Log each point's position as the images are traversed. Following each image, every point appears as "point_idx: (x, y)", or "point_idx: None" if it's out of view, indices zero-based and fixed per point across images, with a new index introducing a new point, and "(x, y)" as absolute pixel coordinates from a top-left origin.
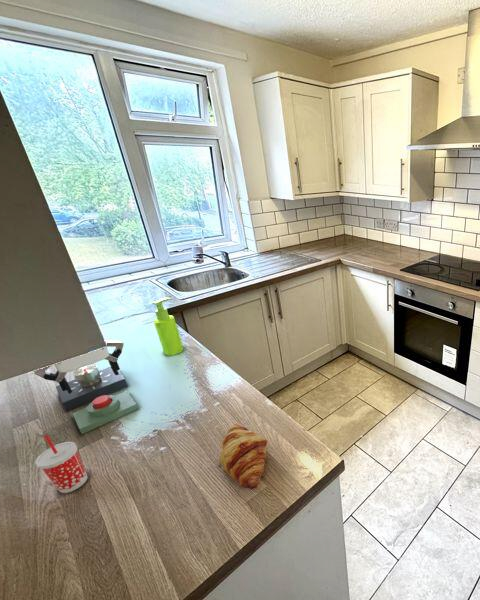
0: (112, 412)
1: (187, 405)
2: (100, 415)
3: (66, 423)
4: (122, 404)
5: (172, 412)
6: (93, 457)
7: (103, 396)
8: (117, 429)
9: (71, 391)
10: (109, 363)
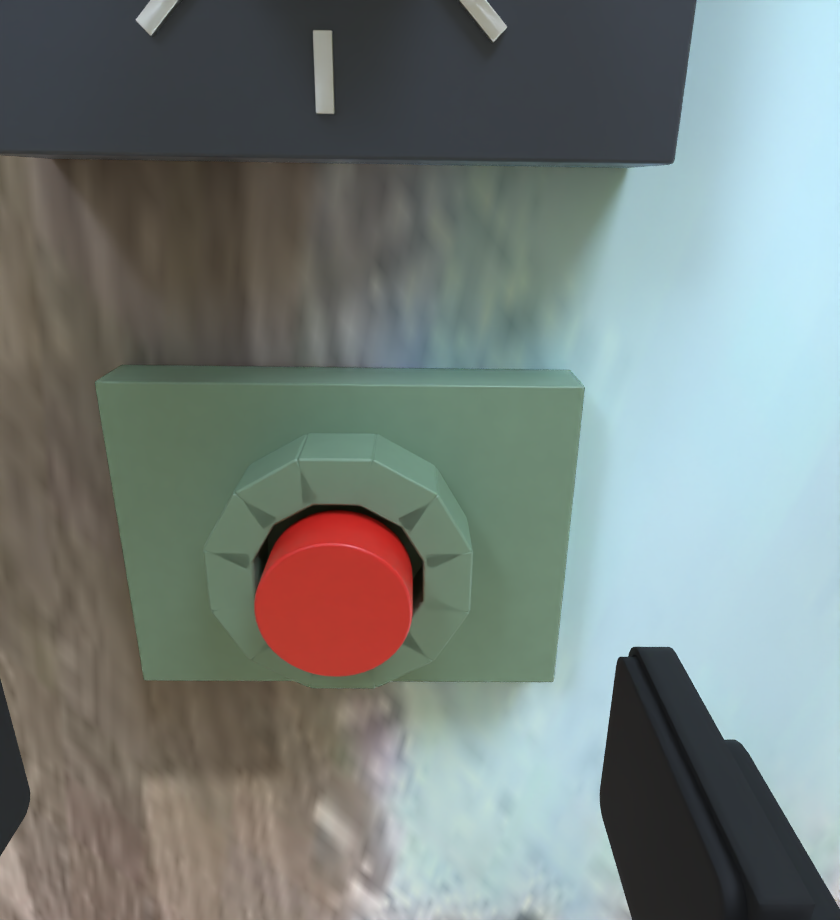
0: None
1: None
2: None
3: (57, 395)
4: (472, 605)
5: None
6: (207, 892)
7: (366, 578)
8: (363, 763)
9: (14, 826)
10: (687, 827)
